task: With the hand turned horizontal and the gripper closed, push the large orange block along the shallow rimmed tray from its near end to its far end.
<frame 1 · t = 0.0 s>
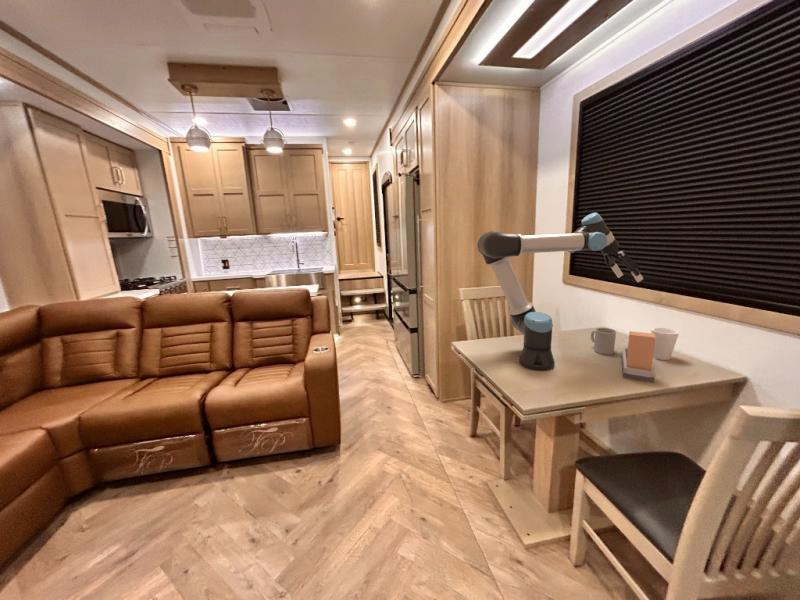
hand: (630, 278, 150), 36 cm above the table, tool tilted 35°, fingers open, 13 cm apart
mug: (600, 350, 159), on the table
foam cup: (661, 357, 147), on the table
large orange block: (640, 352, 129), point 10 cm above the table, slide at -8.0 cm
shallow rimmed tray: (635, 368, 138), on the table
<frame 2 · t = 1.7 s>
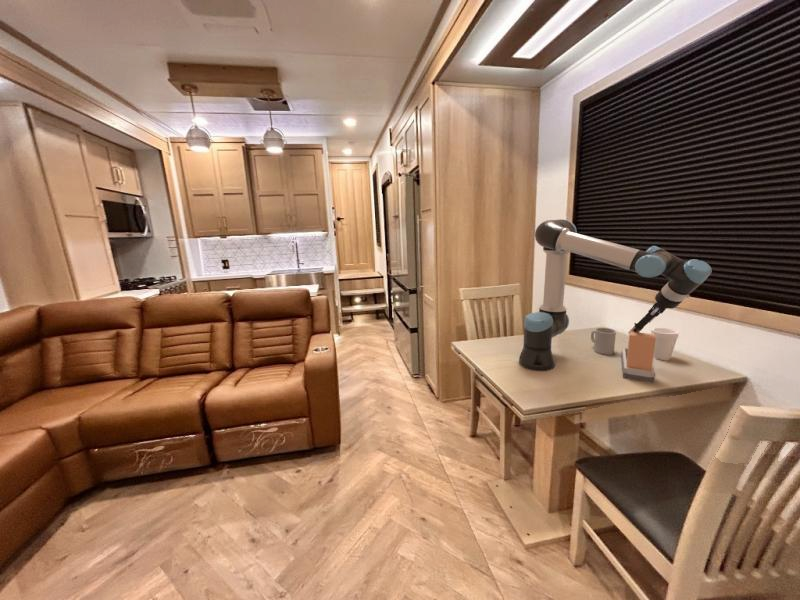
hand: (639, 327, 136), 18 cm above the table, tool tilted 40°, fingers open, 11 cm apart
large orange block: (640, 353, 129), point 10 cm above the table, slide at -8.5 cm, touching shallow rimmed tray, gripper
everything else where it was.
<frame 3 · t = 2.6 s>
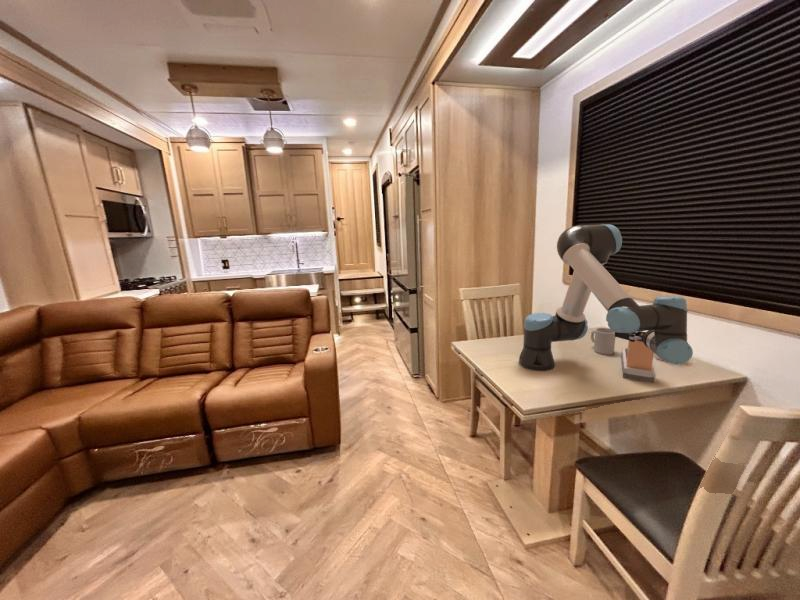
hand: (641, 329, 123), 21 cm above the table, tool horizontal, fingers open, 13 cm apart
large orange block: (640, 352, 129), point 10 cm above the table, slide at -8.0 cm
everything else where it was.
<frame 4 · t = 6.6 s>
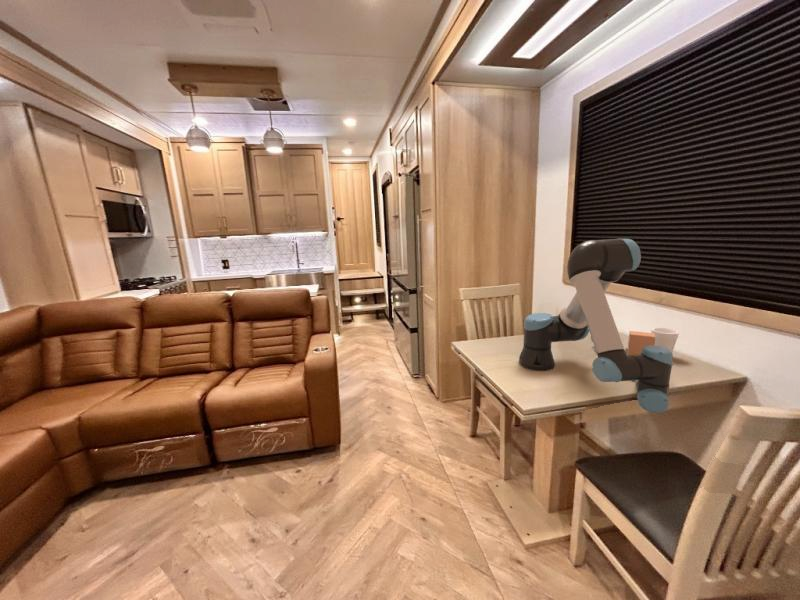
hand: (643, 357, 127), 9 cm above the table, tool horizontal, fingers closed
large orange block: (639, 352, 129), point 10 cm above the table, slide at -7.4 cm, touching gripper
everything else where it was.
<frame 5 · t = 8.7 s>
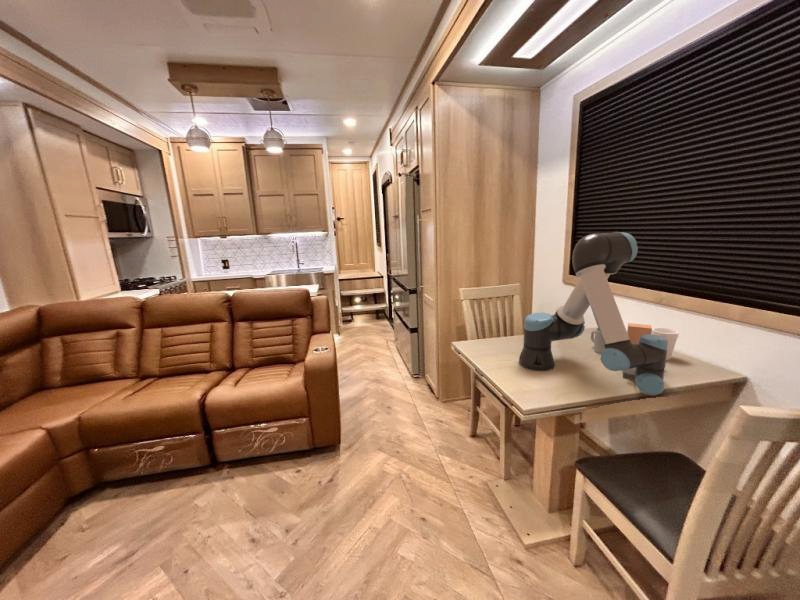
hand: (641, 347, 137), 9 cm above the table, tool horizontal, fingers closed
large orange block: (637, 342, 139), point 10 cm above the table, slide at 4.6 cm, touching gripper
everything else where it was.
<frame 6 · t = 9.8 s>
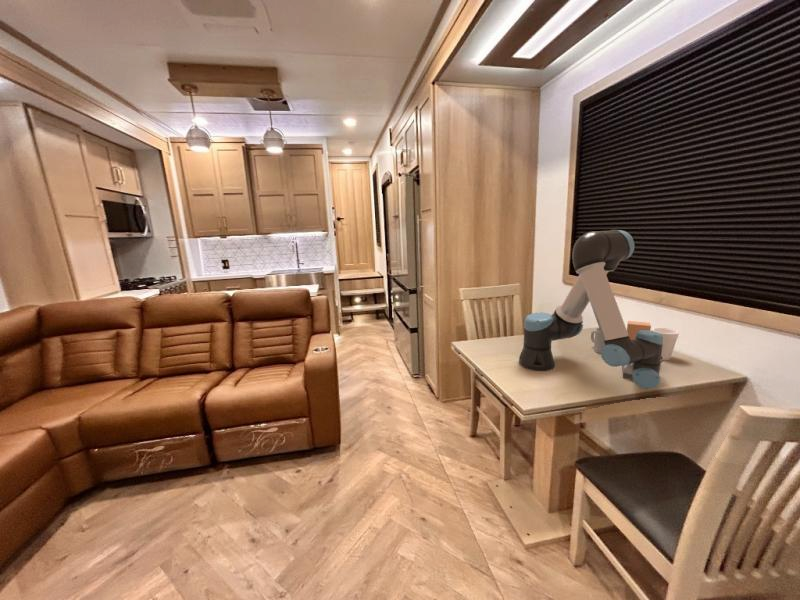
hand: (639, 344, 140), 9 cm above the table, tool horizontal, fingers closed
large orange block: (637, 340, 142), point 10 cm above the table, slide at 8.5 cm, touching shallow rimmed tray, gripper
everything else where it was.
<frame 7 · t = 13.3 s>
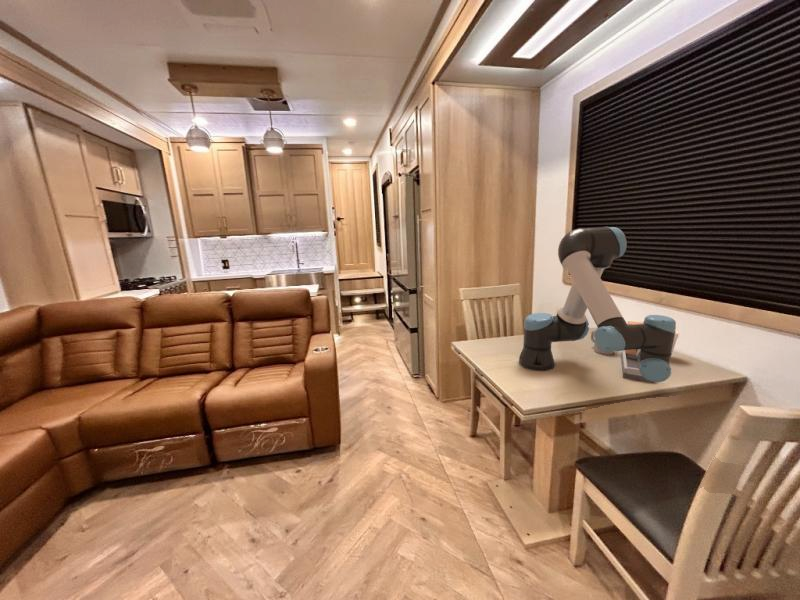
hand: (644, 332, 126), 19 cm above the table, tool horizontal, fingers closed
large orange block: (637, 340, 142), point 10 cm above the table, slide at 8.0 cm
everything else where it was.
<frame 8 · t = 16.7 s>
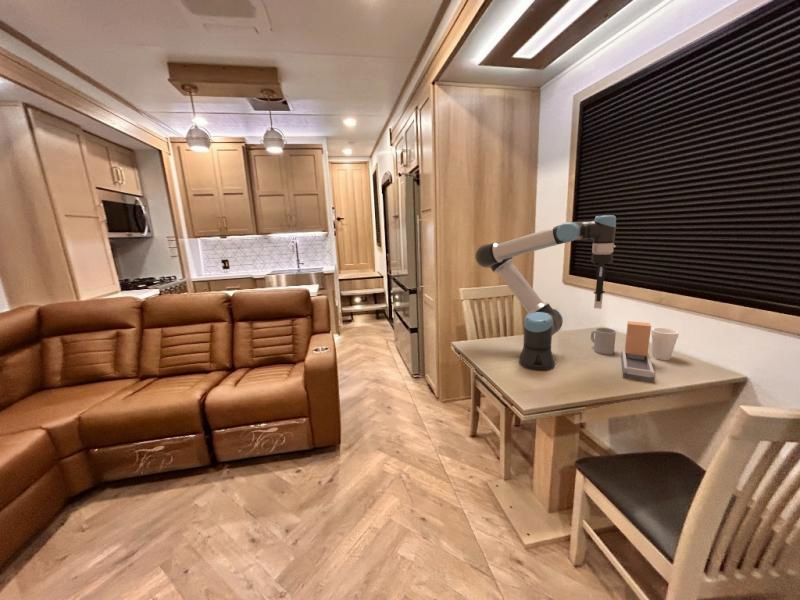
hand: (597, 307, 138), 26 cm above the table, tool pointing down, fingers closed
nothing on the table moved.
at the end: large orange block slide at 8.0 cm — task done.
